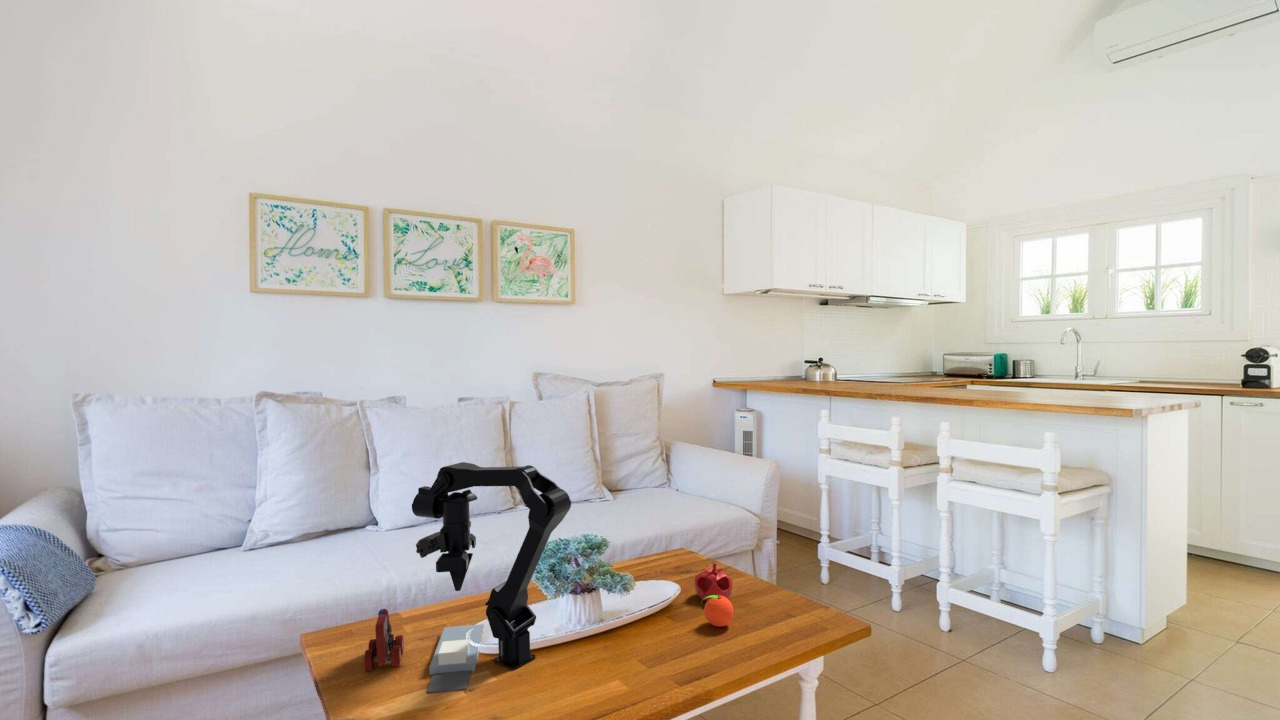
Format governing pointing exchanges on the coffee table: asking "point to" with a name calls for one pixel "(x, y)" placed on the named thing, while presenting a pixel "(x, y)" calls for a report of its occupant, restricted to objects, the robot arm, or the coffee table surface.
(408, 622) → the coffee table surface
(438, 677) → the rubber mat
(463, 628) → the grey board
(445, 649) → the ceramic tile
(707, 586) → the pomegranate
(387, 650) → the red toy vehicle
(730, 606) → the clementine
